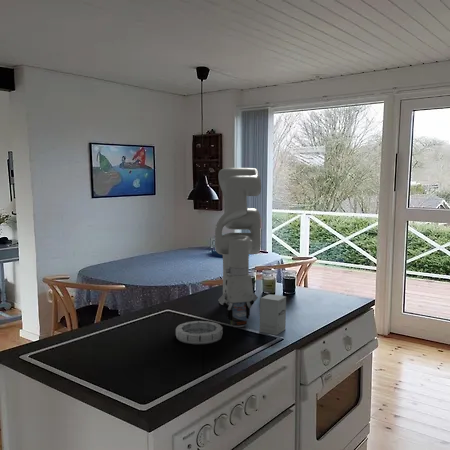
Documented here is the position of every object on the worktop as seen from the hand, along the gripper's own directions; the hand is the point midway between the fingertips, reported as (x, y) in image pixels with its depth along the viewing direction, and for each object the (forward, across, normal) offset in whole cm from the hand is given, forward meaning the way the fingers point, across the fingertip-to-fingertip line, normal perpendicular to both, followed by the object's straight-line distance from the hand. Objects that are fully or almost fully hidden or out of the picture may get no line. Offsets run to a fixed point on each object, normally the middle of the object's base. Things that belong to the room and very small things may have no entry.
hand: (238, 318), depth 172 cm
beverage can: (+3, 0, 0) cm, 3 cm away
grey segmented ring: (+3, -17, -6) cm, 18 cm away
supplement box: (+3, +10, -9) cm, 14 cm away
